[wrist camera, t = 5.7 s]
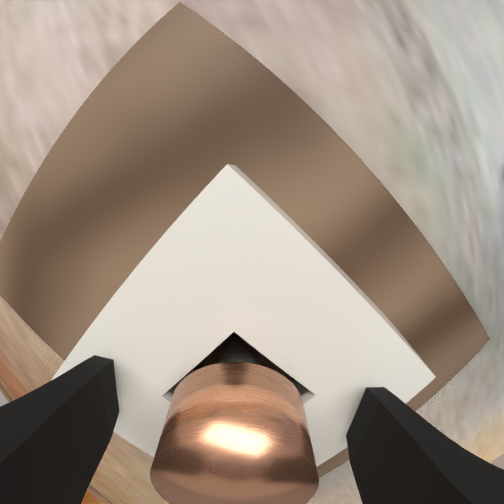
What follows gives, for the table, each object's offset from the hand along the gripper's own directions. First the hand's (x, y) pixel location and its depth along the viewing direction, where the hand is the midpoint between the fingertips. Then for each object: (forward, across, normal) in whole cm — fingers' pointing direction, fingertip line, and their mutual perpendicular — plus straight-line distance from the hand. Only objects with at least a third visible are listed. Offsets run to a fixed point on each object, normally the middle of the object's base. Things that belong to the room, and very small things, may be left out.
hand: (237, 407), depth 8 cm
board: (+5, 0, 0) cm, 5 cm away
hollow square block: (+5, 0, 0) cm, 5 cm away
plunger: (+4, 0, 0) cm, 4 cm away
